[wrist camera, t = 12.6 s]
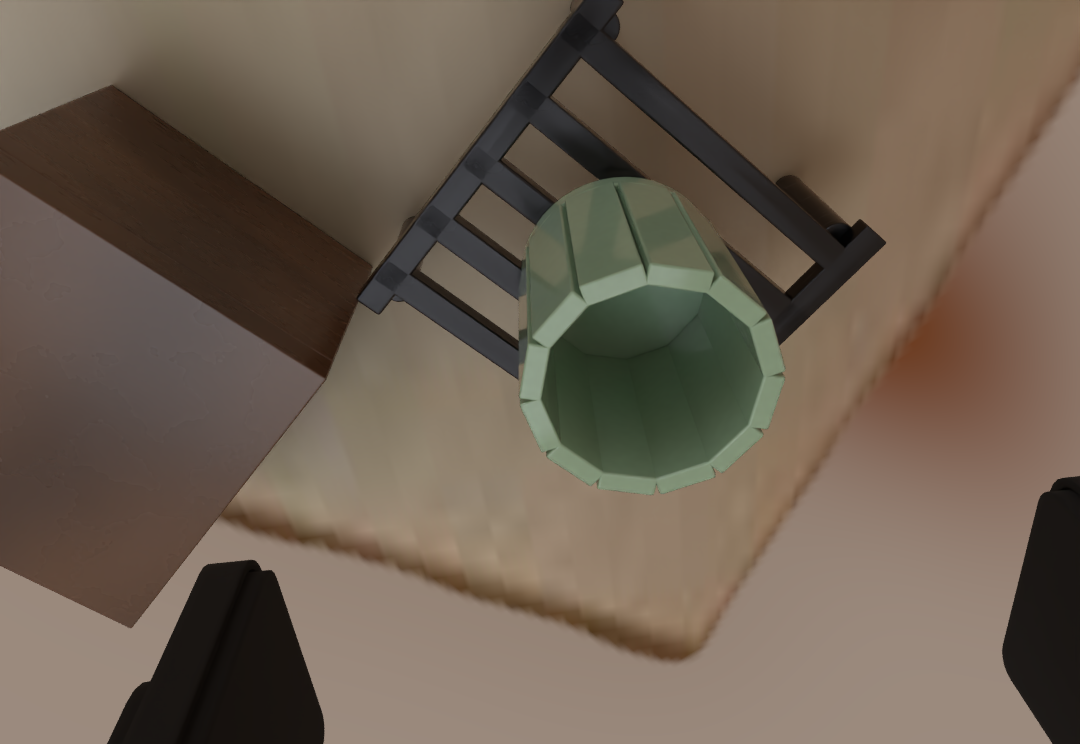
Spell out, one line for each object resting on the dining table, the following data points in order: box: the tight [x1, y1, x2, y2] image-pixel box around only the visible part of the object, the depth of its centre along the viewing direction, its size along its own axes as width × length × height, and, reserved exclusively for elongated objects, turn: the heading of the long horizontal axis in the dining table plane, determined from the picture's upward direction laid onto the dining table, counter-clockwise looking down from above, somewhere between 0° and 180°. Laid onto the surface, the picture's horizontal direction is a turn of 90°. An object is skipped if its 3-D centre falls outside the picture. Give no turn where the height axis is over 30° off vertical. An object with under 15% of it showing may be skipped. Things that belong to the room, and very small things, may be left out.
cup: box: [519, 177, 785, 495], centre depth 25 cm, size 7×7×8 cm
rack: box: [356, 0, 886, 380], centre depth 32 cm, size 13×13×7 cm
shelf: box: [0, 85, 372, 628], centre depth 32 cm, size 12×14×10 cm
